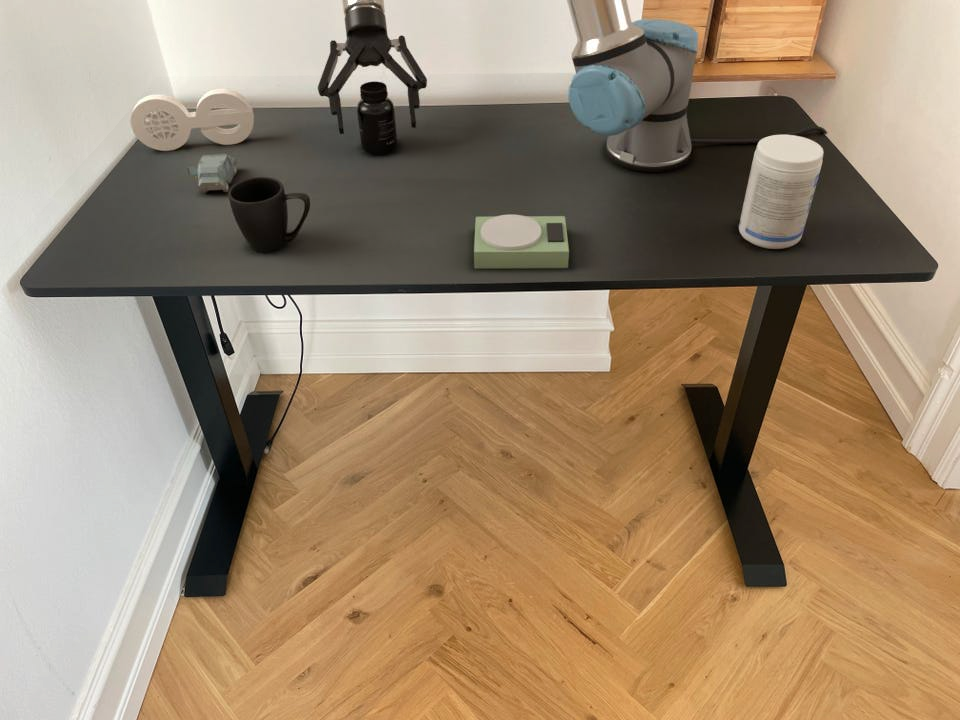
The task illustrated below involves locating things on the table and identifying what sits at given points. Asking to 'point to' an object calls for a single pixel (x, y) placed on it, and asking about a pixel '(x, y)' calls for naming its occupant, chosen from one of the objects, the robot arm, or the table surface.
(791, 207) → the supplement tub
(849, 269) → the table surface
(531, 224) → the scale
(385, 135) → the supplement bottle
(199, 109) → the white double disc plate
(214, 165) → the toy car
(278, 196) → the mug
